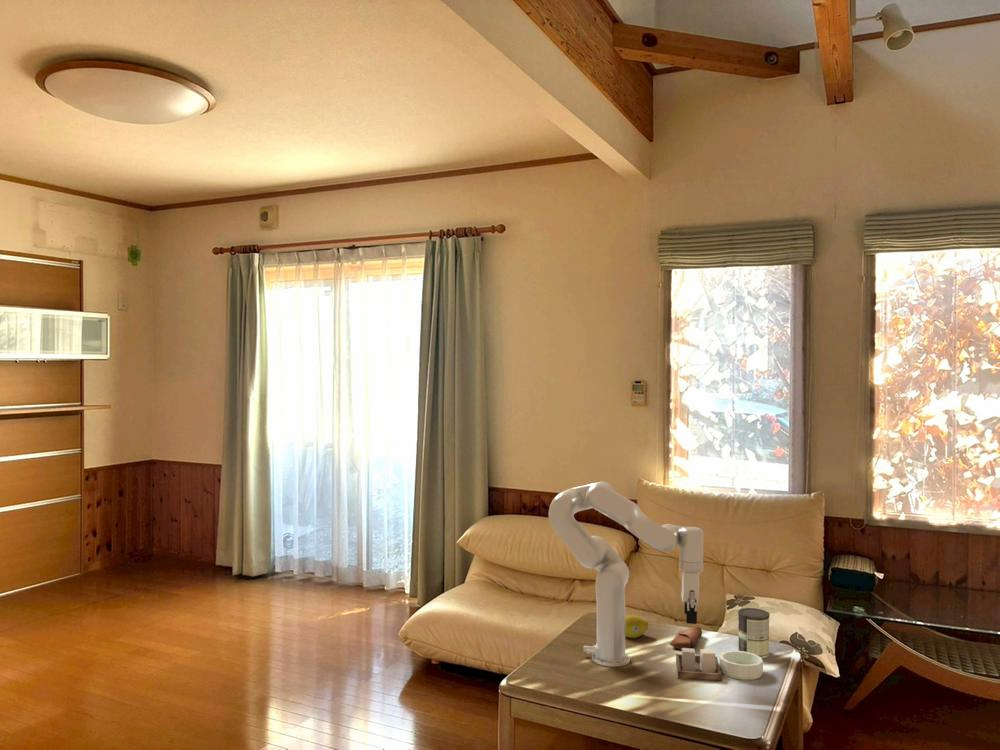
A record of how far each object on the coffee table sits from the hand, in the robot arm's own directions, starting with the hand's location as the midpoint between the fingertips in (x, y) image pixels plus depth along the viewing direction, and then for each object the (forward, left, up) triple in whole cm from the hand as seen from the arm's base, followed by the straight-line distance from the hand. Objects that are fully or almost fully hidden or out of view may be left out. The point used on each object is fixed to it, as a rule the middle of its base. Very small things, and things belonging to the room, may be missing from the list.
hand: (690, 618), depth 244 cm
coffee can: (+22, +20, -17) cm, 34 cm away
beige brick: (+5, 0, -16) cm, 17 cm away
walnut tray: (+2, 0, -17) cm, 17 cm away
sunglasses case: (-2, +26, -17) cm, 31 cm away
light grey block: (-1, 0, -16) cm, 16 cm away
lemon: (-19, +28, -17) cm, 37 cm away
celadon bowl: (+16, +1, -17) cm, 23 cm away
